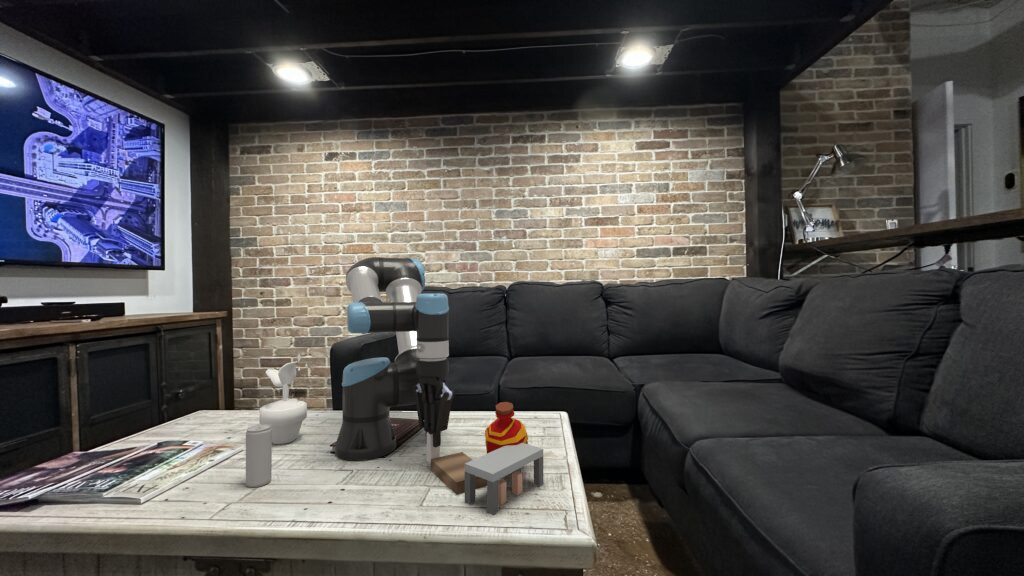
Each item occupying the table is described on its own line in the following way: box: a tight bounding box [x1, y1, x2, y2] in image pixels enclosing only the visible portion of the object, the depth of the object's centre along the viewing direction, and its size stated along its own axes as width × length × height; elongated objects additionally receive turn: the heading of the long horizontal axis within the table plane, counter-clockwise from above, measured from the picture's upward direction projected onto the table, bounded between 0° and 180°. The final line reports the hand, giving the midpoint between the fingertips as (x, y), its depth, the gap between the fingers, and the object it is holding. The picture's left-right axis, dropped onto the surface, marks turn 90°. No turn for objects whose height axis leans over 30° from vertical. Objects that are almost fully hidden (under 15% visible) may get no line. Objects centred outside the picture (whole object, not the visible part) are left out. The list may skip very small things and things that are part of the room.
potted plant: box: [259, 352, 309, 445], centre depth 116 cm, size 13×12×25 cm
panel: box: [430, 451, 487, 496], centre depth 92 cm, size 14×8×3 cm, turn 33°
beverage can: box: [245, 424, 273, 488], centre depth 90 cm, size 5×5×12 cm
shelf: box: [464, 443, 545, 516], centre depth 85 cm, size 8×16×8 cm, turn 140°
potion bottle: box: [484, 401, 529, 454], centre depth 95 cm, size 10×10×15 cm
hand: (433, 459), depth 97 cm, fingers closed
